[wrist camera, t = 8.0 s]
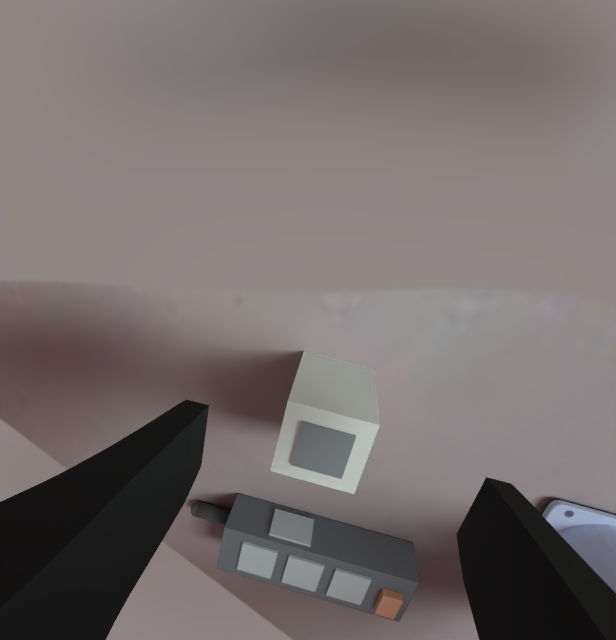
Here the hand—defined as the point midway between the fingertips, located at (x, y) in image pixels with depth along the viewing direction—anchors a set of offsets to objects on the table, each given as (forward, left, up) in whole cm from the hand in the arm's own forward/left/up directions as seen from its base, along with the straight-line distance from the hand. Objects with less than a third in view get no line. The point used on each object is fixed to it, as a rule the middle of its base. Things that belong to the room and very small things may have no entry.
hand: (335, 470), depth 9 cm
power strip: (-1, +16, -10) cm, 19 cm away
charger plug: (0, +4, -11) cm, 11 cm away
